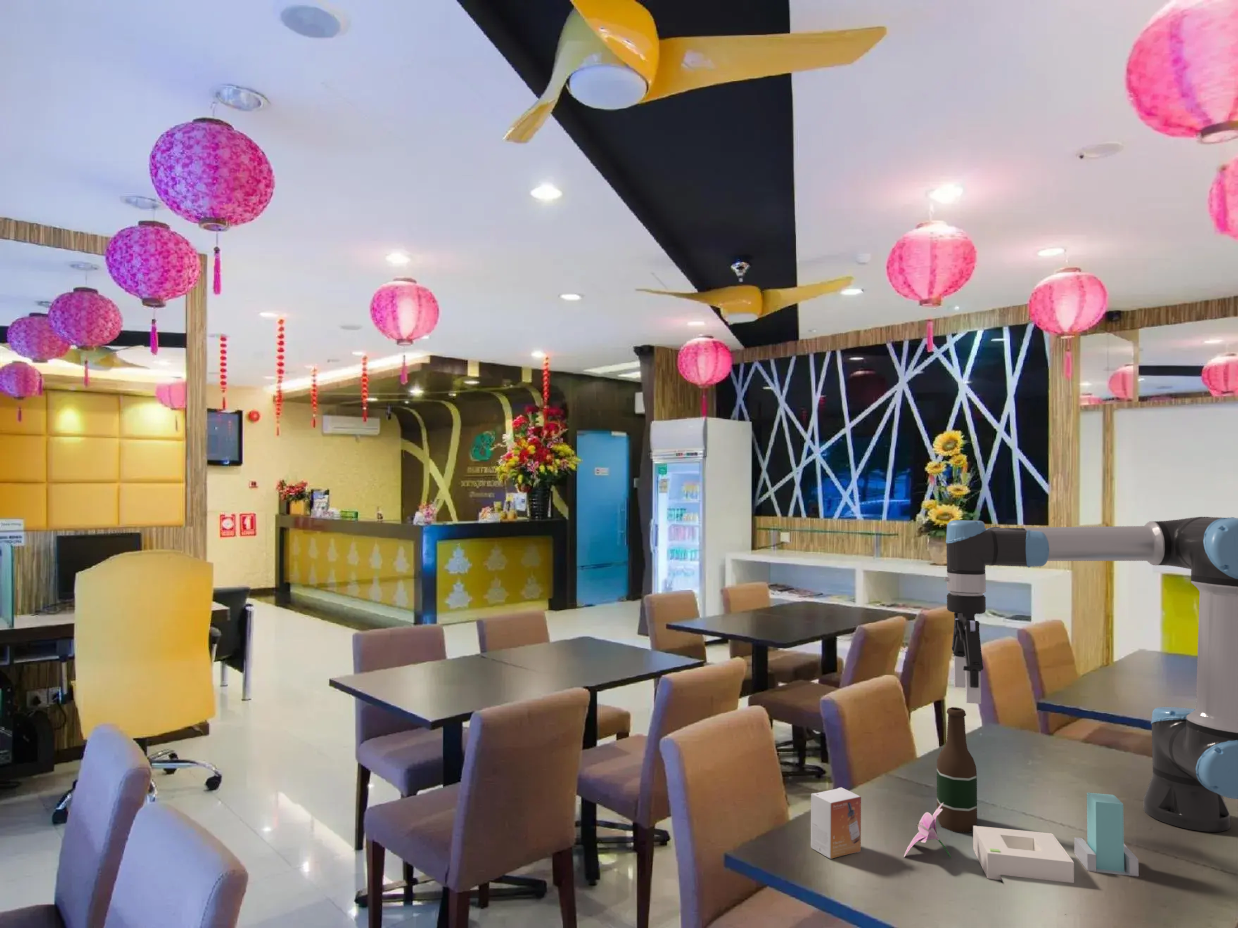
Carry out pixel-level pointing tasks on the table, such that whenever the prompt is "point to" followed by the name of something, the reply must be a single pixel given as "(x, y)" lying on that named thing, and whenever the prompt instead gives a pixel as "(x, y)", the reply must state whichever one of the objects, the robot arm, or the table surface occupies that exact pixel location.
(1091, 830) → the plug
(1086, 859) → the holster
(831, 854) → the small box
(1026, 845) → the port
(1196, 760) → the robot arm
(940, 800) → the beer bottle
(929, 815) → the lily
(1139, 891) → the table surface
